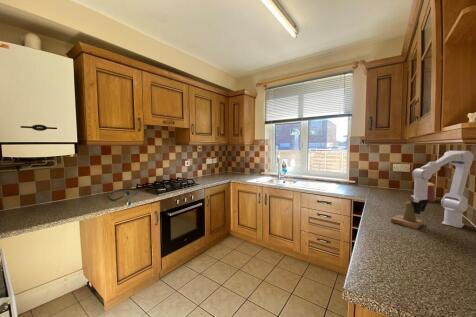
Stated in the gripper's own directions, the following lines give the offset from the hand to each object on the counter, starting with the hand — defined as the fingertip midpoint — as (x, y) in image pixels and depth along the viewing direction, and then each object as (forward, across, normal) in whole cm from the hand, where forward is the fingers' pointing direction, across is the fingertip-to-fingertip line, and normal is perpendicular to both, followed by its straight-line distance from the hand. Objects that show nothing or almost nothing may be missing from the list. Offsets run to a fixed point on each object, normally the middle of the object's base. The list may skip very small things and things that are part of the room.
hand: (419, 212), depth 116 cm
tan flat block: (+8, 0, -6) cm, 10 cm away
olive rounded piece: (+6, 0, -4) cm, 7 cm away
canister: (+9, -74, -15) cm, 76 cm away
